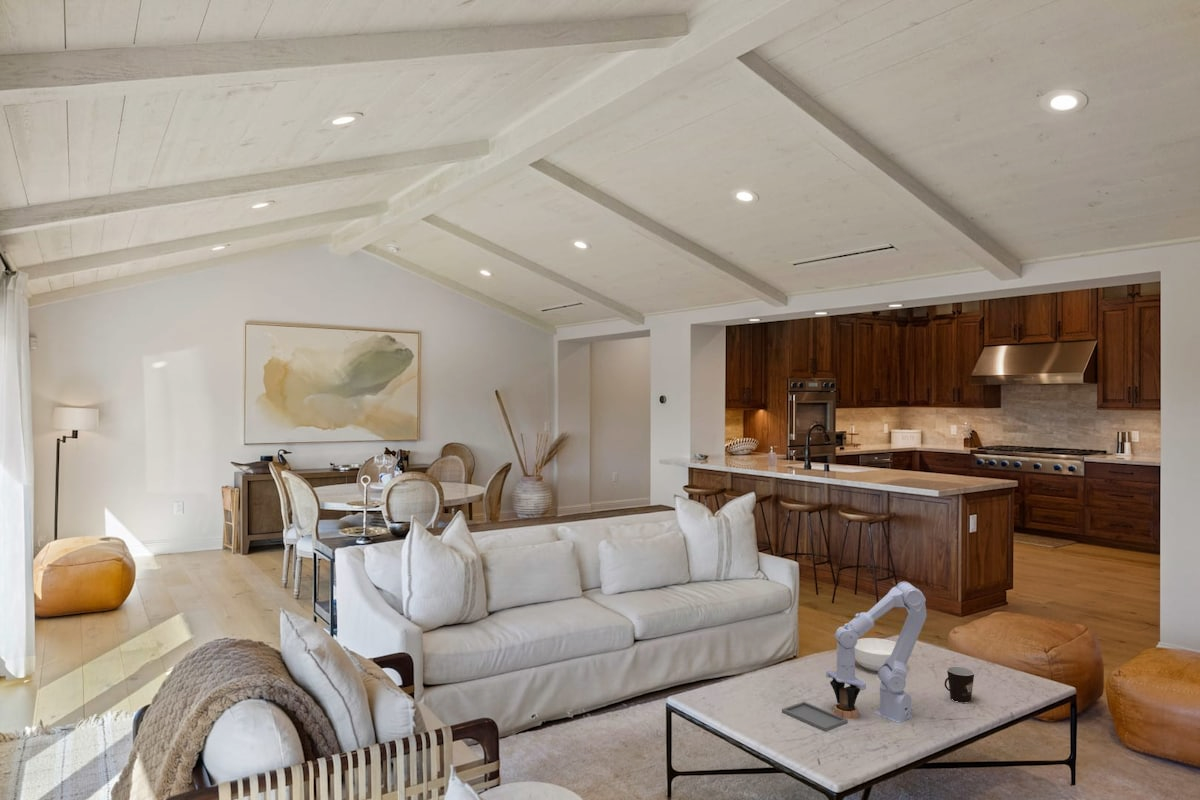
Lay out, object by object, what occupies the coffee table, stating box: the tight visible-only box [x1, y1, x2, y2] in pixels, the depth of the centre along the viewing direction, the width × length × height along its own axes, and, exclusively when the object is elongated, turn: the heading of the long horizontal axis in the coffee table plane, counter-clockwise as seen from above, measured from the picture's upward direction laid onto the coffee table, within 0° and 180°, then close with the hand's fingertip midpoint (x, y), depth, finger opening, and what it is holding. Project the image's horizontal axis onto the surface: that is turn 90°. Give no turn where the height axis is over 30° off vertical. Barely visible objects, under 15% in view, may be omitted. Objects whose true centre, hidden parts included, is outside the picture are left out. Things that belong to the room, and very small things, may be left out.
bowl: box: [855, 637, 897, 672], centre depth 303 cm, size 20×20×8 cm
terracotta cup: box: [832, 702, 860, 720], centre depth 259 cm, size 8×8×2 cm
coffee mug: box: [944, 666, 975, 703], centre depth 271 cm, size 12×9×10 cm
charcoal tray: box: [781, 701, 849, 733], centre depth 256 cm, size 18×11×2 cm, turn 35°
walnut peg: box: [839, 687, 852, 711], centre depth 259 cm, size 4×4×8 cm
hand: (845, 704), depth 259 cm, fingers closed on walnut peg, 4 cm apart
